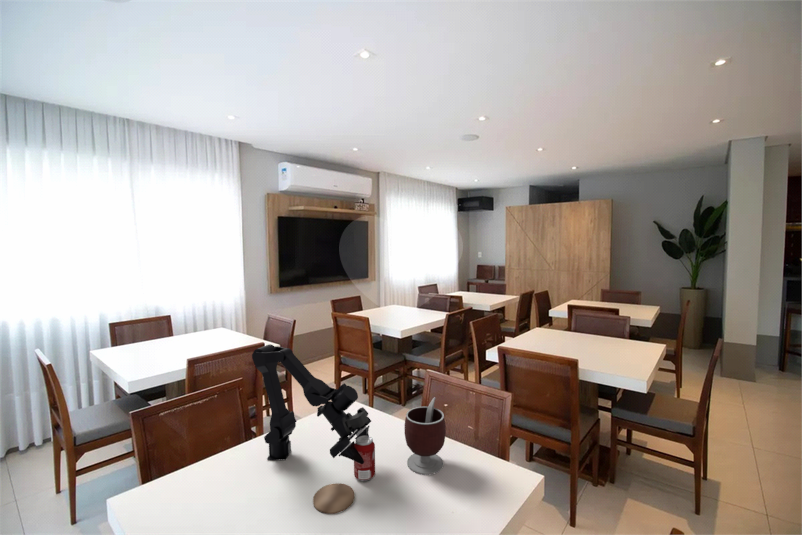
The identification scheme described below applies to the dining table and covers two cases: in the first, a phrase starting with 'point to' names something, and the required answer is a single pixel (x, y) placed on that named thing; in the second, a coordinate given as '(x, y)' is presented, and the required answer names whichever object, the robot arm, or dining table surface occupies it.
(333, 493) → the coaster
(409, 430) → the mate gourd
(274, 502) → the dining table surface
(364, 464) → the soda can
